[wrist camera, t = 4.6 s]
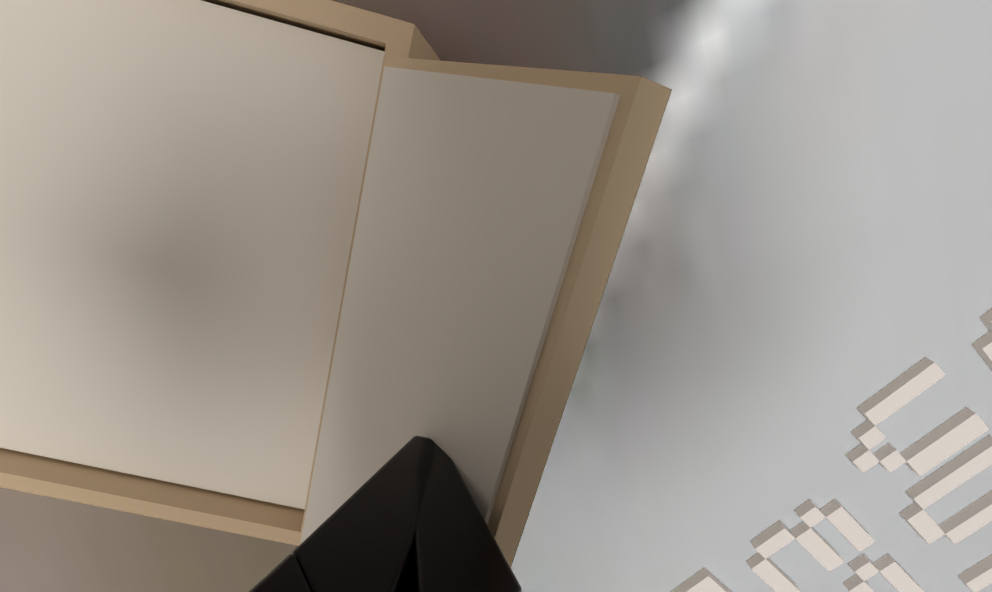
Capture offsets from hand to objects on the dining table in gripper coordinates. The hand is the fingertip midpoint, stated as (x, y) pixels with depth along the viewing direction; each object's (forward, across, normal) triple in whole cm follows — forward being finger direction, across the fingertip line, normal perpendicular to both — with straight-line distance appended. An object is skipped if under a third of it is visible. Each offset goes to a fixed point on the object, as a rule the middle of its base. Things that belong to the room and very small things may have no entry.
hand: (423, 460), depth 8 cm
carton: (+11, +11, 0) cm, 15 cm away
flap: (+1, +1, 0) cm, 1 cm away
